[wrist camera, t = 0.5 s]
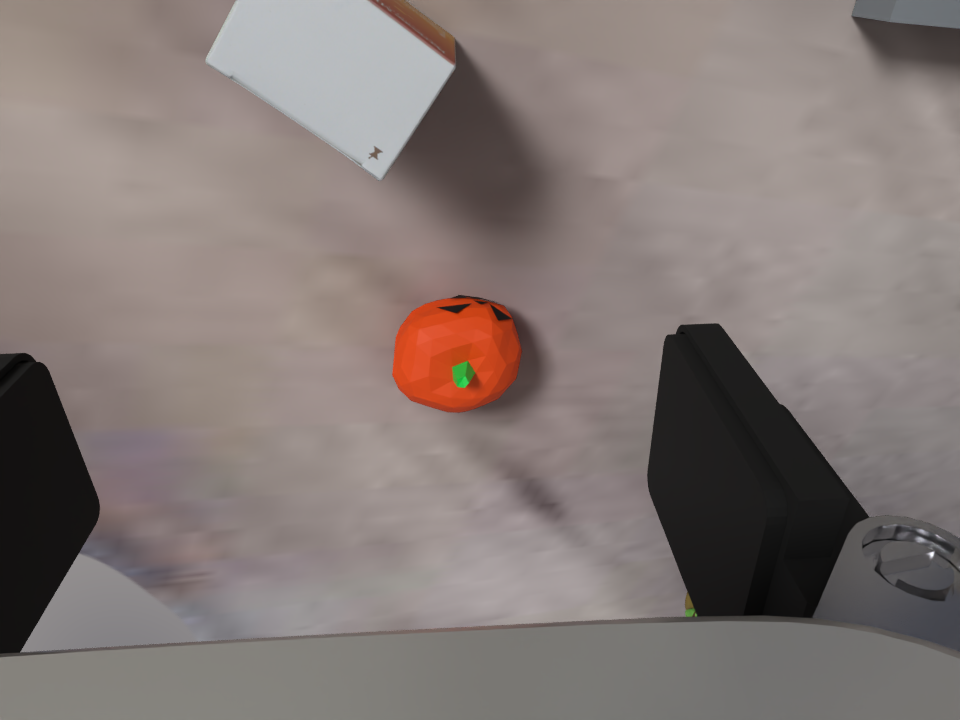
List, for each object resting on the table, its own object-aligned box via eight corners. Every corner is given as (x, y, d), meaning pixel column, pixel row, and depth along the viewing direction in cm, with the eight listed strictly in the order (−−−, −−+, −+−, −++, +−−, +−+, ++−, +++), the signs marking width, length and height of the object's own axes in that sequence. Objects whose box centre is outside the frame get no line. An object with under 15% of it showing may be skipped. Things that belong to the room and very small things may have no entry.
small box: (457, 38, 36) (463, 68, 27) (396, 130, 38) (384, 186, 29) (318, -72, 33) (272, -80, 24) (261, 34, 35) (200, 63, 26)
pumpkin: (377, 311, 44) (362, 350, 38) (498, 268, 43) (501, 302, 37) (419, 407, 47) (411, 458, 41) (534, 369, 46) (543, 416, 40)
